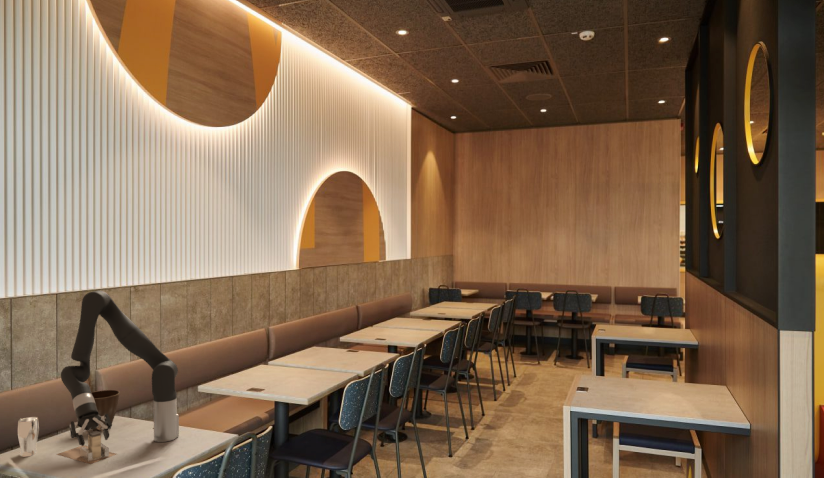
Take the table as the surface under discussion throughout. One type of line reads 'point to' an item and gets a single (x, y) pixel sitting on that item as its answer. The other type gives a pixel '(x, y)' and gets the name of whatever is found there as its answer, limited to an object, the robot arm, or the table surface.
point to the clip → (88, 454)
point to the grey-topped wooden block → (94, 443)
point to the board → (76, 455)
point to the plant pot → (106, 403)
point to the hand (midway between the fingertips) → (95, 441)
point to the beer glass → (28, 435)
